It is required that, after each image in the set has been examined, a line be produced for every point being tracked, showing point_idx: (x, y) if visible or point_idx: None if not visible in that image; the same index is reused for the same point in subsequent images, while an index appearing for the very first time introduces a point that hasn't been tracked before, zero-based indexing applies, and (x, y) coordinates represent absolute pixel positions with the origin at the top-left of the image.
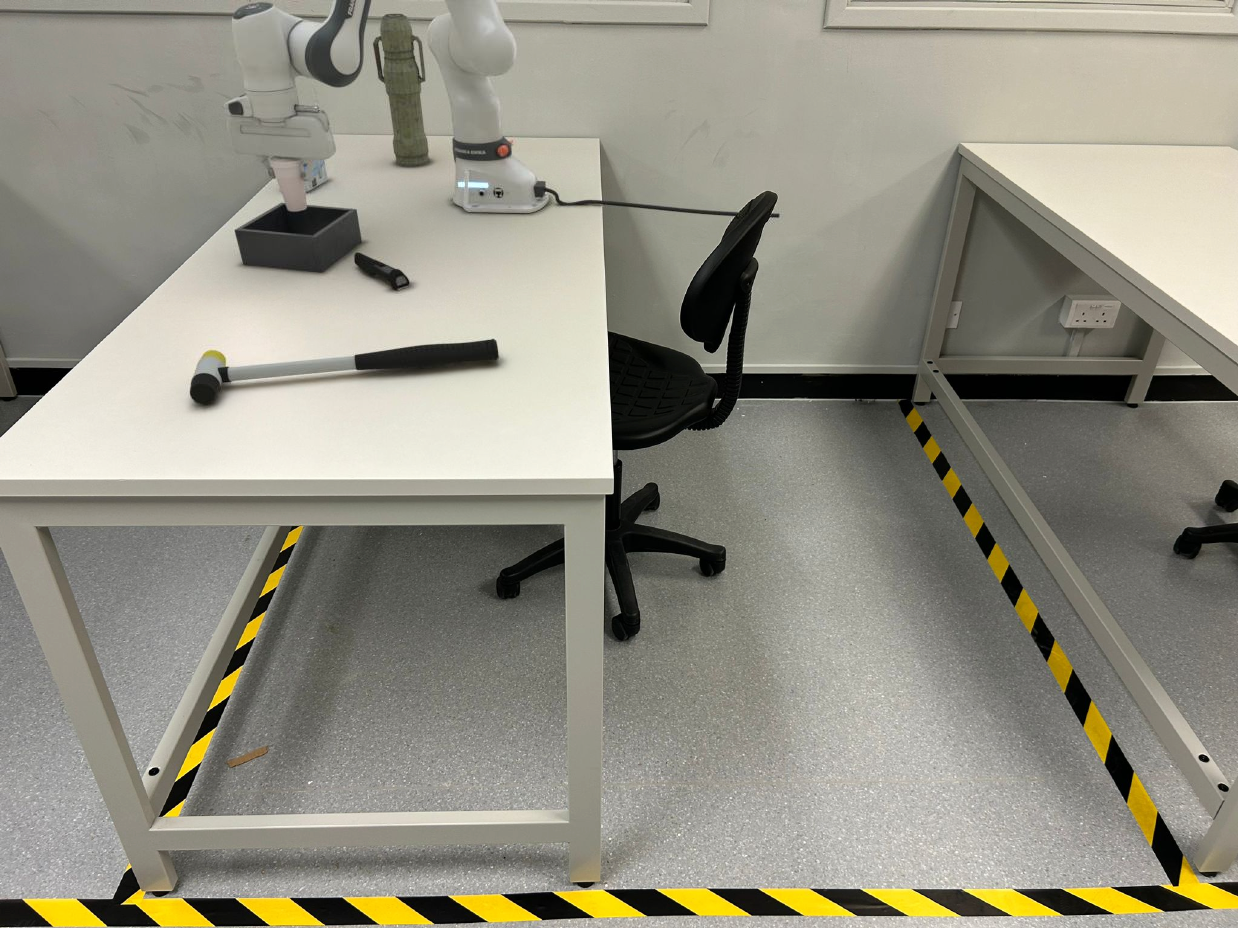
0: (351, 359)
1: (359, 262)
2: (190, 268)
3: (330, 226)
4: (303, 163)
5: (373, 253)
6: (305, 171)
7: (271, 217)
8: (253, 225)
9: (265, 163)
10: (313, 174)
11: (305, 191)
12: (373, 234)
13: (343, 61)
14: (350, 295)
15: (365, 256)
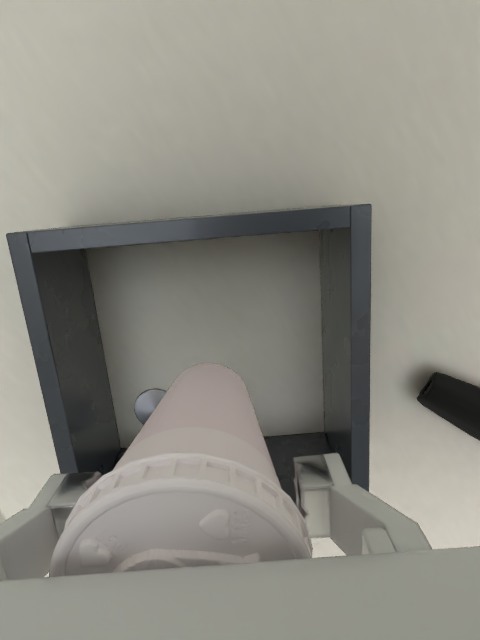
0: None
1: (444, 416)
2: (4, 515)
3: (367, 413)
4: (309, 536)
5: (411, 279)
6: (338, 544)
7: (61, 345)
8: (79, 454)
9: (21, 575)
10: (344, 468)
11: (254, 414)
12: (335, 118)
13: None
14: (467, 524)
15: (471, 414)
